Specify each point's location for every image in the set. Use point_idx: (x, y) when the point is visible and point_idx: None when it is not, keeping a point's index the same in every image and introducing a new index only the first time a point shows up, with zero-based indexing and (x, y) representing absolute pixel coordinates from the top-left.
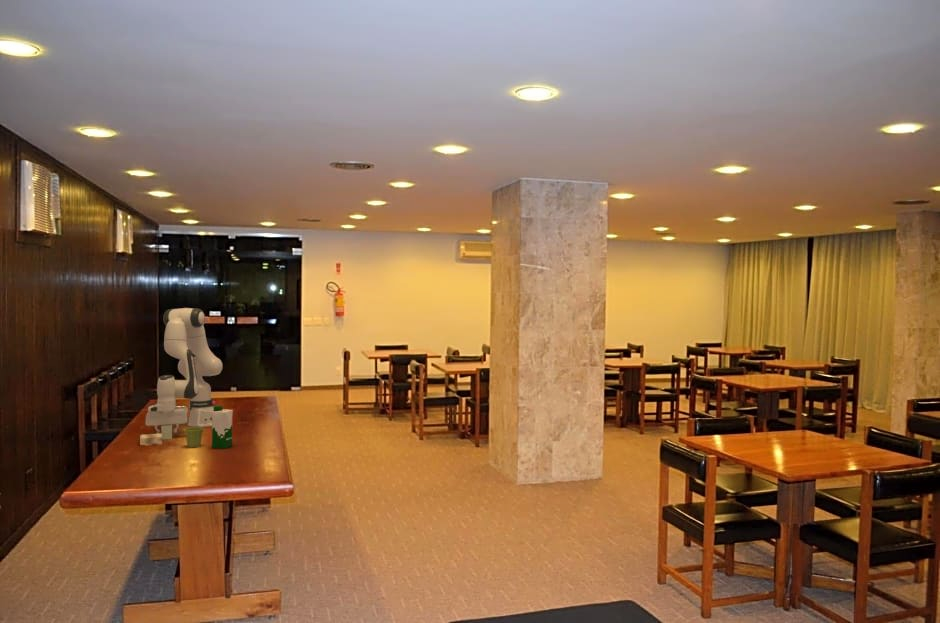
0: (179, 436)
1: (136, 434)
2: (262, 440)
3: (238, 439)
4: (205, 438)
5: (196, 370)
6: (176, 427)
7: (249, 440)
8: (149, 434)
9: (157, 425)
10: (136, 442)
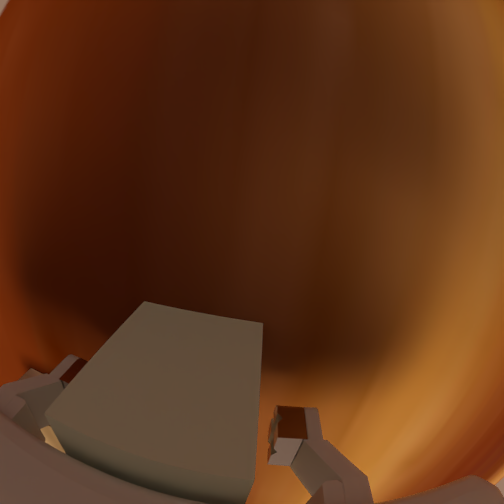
0: (346, 334)
1: (10, 41)
2: (501, 472)
3: (488, 465)
4: (443, 449)
5: None
6: (307, 488)
7: (489, 474)
8: (50, 432)
9: (18, 415)
10: (17, 364)
